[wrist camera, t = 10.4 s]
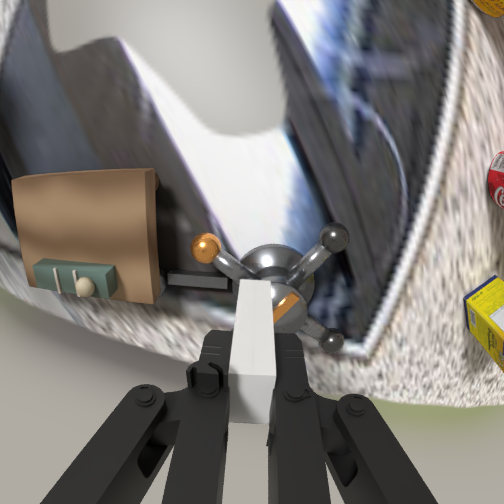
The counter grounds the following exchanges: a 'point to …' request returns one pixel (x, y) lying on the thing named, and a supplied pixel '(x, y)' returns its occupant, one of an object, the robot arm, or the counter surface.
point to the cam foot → (251, 260)
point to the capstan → (284, 282)
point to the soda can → (497, 179)
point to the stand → (90, 232)
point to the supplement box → (488, 317)
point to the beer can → (490, 7)
